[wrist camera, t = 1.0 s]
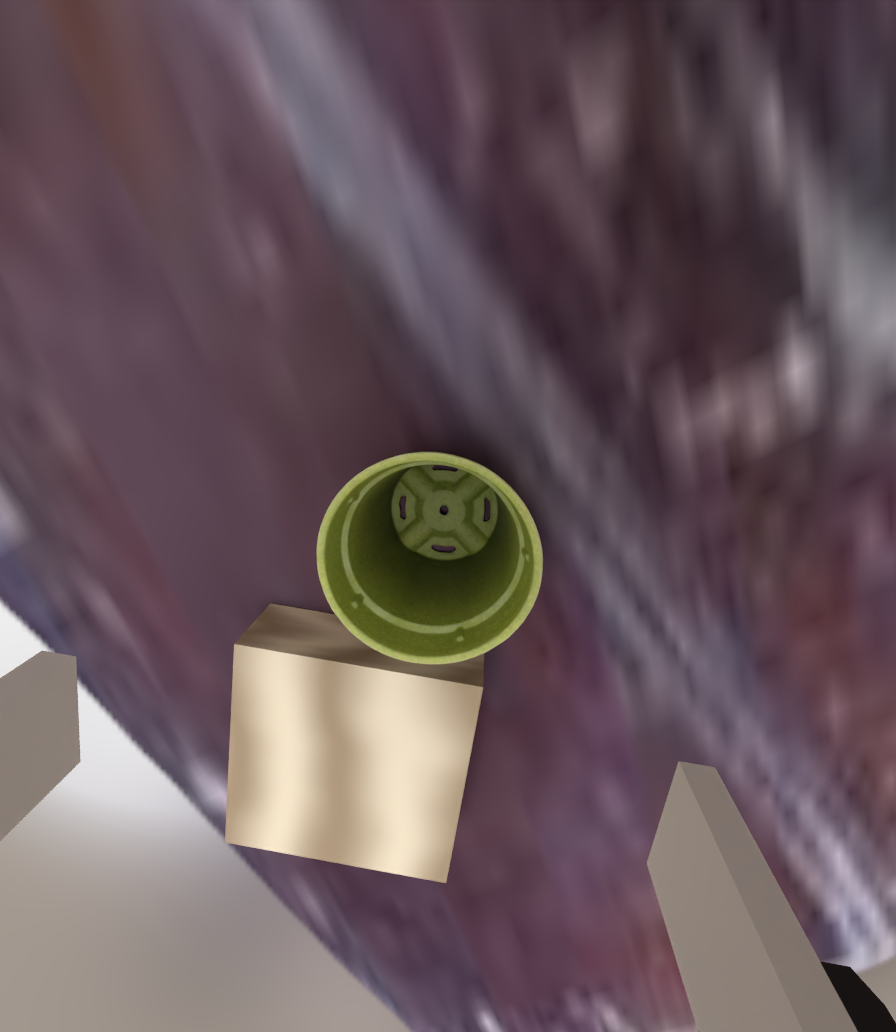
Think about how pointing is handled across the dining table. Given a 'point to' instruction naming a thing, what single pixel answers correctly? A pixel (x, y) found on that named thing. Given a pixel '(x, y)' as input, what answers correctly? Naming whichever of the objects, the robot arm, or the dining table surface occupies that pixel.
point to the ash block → (347, 747)
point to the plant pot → (429, 559)
